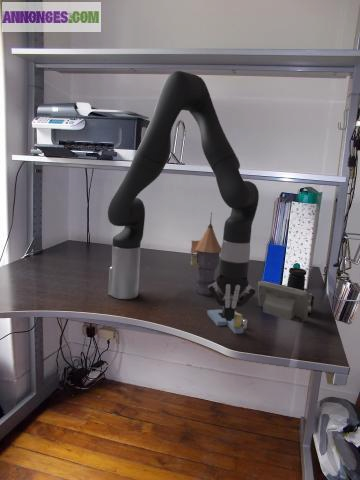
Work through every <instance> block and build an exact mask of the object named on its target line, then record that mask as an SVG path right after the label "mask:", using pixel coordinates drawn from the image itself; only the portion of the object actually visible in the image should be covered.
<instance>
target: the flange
mask: <svg viewBox="0 0 360 480" xmlns="http://www.w3.org/2000/svg"><path fill="white" fill-rule="evenodd" d="M206 314H207V315H208V317H209V318H210V319H211V320H212V322H214V324H215V325H216V326H217V327H218V326H219V327H221V326H227V327H228V328H229V329H230V330H231V331H232V332H233V334H244V331H245V329H243V328H242V325H243V319H244V318H243V314H242V313H239V312H237V311H236V310H235V315H234V319H232V321H226V319H224V318H222V309H208V310H207V313H206Z"/></svg>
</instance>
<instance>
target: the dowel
mask: <svg viewBox="0 0 360 480" xmlns="http://www.w3.org/2000/svg"><path fill="white" fill-rule="evenodd" d="M247 326H248V319H246V318H243V324H241V327H242V328H243V329H244V330H247V328H248V327H247Z"/></svg>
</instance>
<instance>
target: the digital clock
mask: <svg viewBox="0 0 360 480" xmlns="http://www.w3.org/2000/svg"><path fill="white" fill-rule="evenodd" d="M257 296H258V297H257V300H258V303H257V304H258V307H261V308H262V313H264V314H268V315H271V316H274V317H278V318H281V319H285V320H289V321H291V320H292V319H293V318H294V317H297V318H299V322H306V321H308V319H309V316H308V296H309V292H307V291H306V290H304V291H303V290H299V289H295V288H291V287H287V285H281V284H277V283H273V282H269V281H264V280H259V281H258V282H257Z"/></svg>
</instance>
